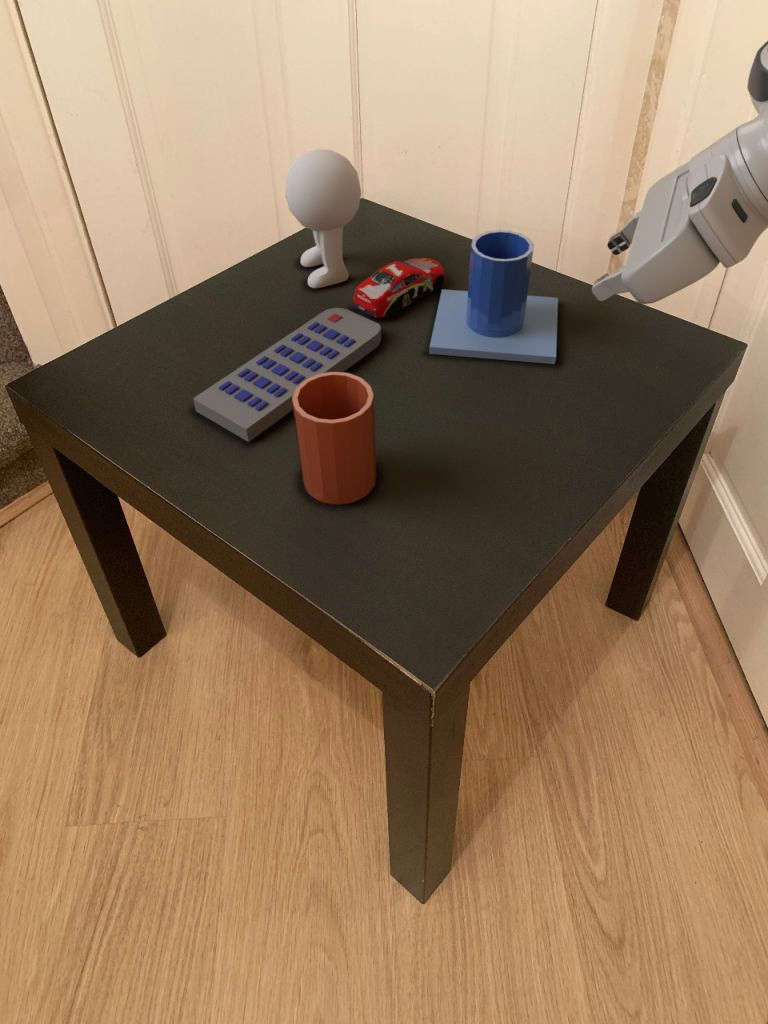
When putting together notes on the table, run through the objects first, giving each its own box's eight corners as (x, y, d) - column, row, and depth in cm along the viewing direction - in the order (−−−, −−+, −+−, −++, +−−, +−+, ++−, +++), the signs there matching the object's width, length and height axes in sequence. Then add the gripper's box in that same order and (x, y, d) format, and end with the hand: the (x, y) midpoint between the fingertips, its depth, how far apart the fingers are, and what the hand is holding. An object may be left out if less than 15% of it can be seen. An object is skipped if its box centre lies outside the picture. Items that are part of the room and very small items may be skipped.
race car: (422, 268, 102) (423, 239, 99) (453, 283, 99) (455, 254, 96) (346, 308, 96) (344, 278, 93) (376, 326, 93) (376, 296, 90)
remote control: (196, 412, 83) (191, 396, 82) (337, 315, 95) (336, 299, 93) (248, 443, 80) (245, 427, 78) (389, 338, 91) (388, 322, 90)
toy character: (288, 258, 104) (275, 141, 93) (355, 248, 106) (350, 132, 95) (300, 294, 98) (287, 174, 87) (371, 283, 100) (367, 164, 89)
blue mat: (557, 304, 96) (558, 297, 95) (555, 364, 88) (556, 357, 87) (441, 296, 97) (441, 289, 97) (429, 354, 89) (429, 346, 89)
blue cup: (525, 307, 94) (535, 232, 87) (521, 340, 89) (531, 263, 82) (469, 303, 94) (474, 228, 87) (463, 335, 90) (468, 258, 83)
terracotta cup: (381, 457, 78) (379, 375, 71) (369, 508, 73) (365, 426, 66) (312, 450, 79) (303, 368, 71) (295, 500, 74) (283, 418, 67)
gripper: (721, 119, 78) (602, 201, 88) (703, 212, 65) (566, 296, 75) (754, 170, 80) (635, 244, 90) (743, 270, 67) (605, 344, 77)
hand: (603, 269), depth 82 cm, fingers open, 8 cm apart
